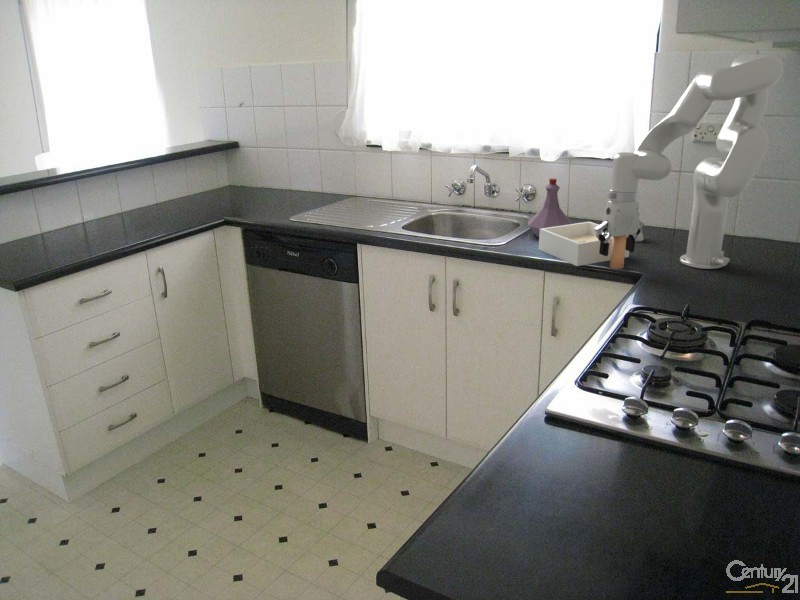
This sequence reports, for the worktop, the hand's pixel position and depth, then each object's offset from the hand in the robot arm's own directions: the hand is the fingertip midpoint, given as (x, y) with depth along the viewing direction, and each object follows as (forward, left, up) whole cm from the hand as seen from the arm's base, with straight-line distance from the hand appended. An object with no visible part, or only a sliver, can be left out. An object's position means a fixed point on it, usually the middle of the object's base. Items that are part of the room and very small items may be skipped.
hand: (616, 252), depth 202 cm
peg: (0, 0, -4) cm, 4 cm away
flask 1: (+38, -3, -5) cm, 38 cm away
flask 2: (+21, -25, -5) cm, 33 cm away
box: (+16, 0, -4) cm, 16 cm away
